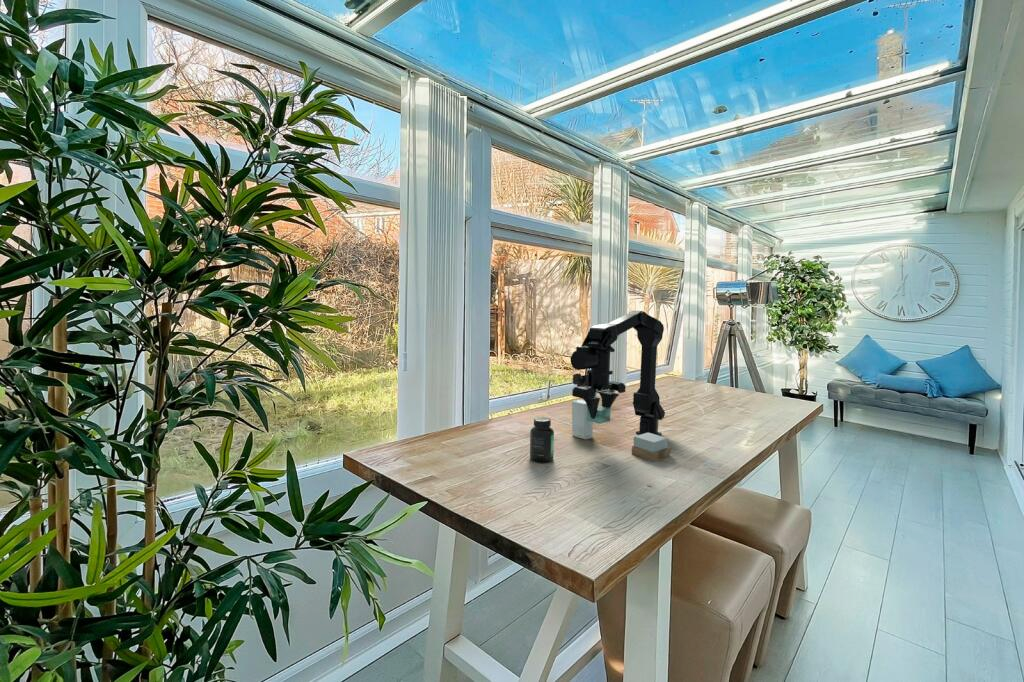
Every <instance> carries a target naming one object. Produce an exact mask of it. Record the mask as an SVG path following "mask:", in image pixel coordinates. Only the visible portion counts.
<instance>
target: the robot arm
mask: <svg viewBox="0 0 1024 682" xmlns="http://www.w3.org/2000/svg"><path fill="white" fill-rule="evenodd" d="M631 329H634V330H635V331H636V336H637V340H638V342H639V344H640V345H641V355H640V374H639V375H640V376H639V377H640V378H639V388H638V389H637V391H636V392H634V393H633V394H632V398H633V401H632V405H633V410H634V413H635V414H634V415H635V416H639V417H640V418H639V427H638V428H639V430H638V431H635V434H637V435H641V434H644V433H652V434H655V435H659V436H662V432H659V420H660V421H662V420H663V419H664V418H665V415H666V411H665V409H664V408H663V407H662V406H661V403H660V402H661V401H660V395H659V393H658V391H657V389H656V373H657V372H656V371H657V370H656V369H657V353H658V352H657V351H658V346H659V344H660V342H661V341H662V340H663V334H664V330H665V326H664V324H663V323H662V321H660V320H659V319H657V318H656V317H654V316H651V315H650V314H648V313H646V312H645V311H644V310H631V311H629V312H628V313H626V314H624V315H622V316H621V317H620V316H619V317H618V318H617V319H614V320H612V321H610V322H607V323H600V324H599V323H598V324H595V325H592V326H591V327H589V331H588V332H587V334H586V336H585V338H584V340H583V342H582V343H581V346H579V345H578V346H576V347H575V351H573V352H572V354H571V356H570V363H571V366H572V367H573V369H574V370H576V371H579V370H580V371H581V370H587V371H586V374H585V375H583V374H581V373H574V374H573V375H572V383H573V385H576V386H575V387H574V386H573V388H572V393H571V396H572V397H575V398H579V399H581V400H583V401H585V402H586V404H587V407H588V410H589V413H590V416H591V418H592V419H595V416H596V412H597V408H598V405H599V404H600V400H601V406H603V407H607V408H611V407H612V405H613V404H614V403H615V401H616V399H617V398H618V397H619V396H620V394H622V393H626V385H625V383H623V382H619V381H612V380H611V381H610V375H613V370H610V369H611V353H615V351H616V350H615V348H614V347H612V344H614V343H615V342H616V341H617V340H618V336H620V335H621V334H623V333H626V332H627V331H630V330H631ZM616 391H617V392H618V393H616ZM598 394H599V396H600V397H598Z"/></svg>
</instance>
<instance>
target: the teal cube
mask: <svg viewBox="0 0 1024 682" xmlns="http://www.w3.org/2000/svg"><path fill="white" fill-rule="evenodd" d="M611 410H612V409H611V408H607V407H603V406H602V405H599V404H598V408H597V412H596V416H595V419H592V418H591V416H590V413H589V410H588V407H587V420H588V421H592V422H593V423H596V424H598V425H599V424H605V423H608V422H611Z"/></svg>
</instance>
